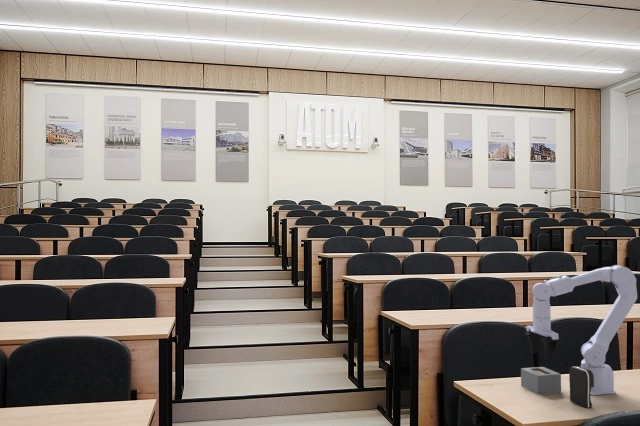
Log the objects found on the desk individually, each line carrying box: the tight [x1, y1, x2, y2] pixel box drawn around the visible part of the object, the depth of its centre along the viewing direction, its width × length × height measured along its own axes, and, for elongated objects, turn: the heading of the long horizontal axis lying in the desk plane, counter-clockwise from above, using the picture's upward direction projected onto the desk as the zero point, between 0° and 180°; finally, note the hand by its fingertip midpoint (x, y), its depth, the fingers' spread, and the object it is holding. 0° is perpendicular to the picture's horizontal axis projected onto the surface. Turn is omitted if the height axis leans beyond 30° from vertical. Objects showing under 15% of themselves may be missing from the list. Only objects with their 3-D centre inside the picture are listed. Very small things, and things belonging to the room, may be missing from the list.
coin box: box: [520, 366, 562, 395], centre depth 168 cm, size 9×9×6 cm
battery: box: [568, 366, 594, 408], centre depth 153 cm, size 7×4×11 cm, turn 17°
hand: (542, 355), depth 172 cm, fingers open, 7 cm apart
